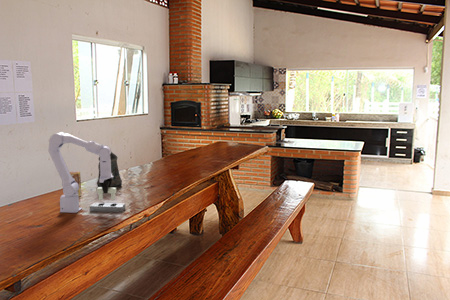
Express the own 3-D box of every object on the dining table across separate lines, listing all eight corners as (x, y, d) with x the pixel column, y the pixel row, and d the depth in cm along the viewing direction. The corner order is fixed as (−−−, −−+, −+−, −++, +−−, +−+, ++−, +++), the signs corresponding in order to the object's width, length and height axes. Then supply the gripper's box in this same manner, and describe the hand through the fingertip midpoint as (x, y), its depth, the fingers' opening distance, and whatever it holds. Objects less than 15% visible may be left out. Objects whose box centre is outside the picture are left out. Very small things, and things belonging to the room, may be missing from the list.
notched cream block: (97, 199, 223) (96, 188, 222) (99, 198, 226) (98, 187, 224) (114, 200, 222) (114, 189, 221) (116, 198, 225) (116, 187, 224)
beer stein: (121, 182, 285) (120, 148, 281) (123, 189, 267) (122, 152, 263) (96, 184, 280) (95, 149, 276) (97, 191, 262) (95, 154, 258)
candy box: (81, 194, 254) (80, 171, 252) (80, 196, 250) (78, 172, 248) (67, 195, 253) (65, 171, 251) (65, 197, 249) (63, 173, 247)
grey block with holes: (89, 211, 222) (89, 206, 222) (94, 207, 229) (94, 202, 229) (121, 212, 221) (121, 207, 221) (125, 208, 228) (125, 203, 227)
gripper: (108, 171, 213) (109, 196, 216) (117, 165, 228) (118, 188, 230) (95, 171, 214) (96, 195, 216) (105, 165, 228) (105, 188, 230)
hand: (106, 192), depth 223 cm, fingers closed on notched cream block, 3 cm apart
